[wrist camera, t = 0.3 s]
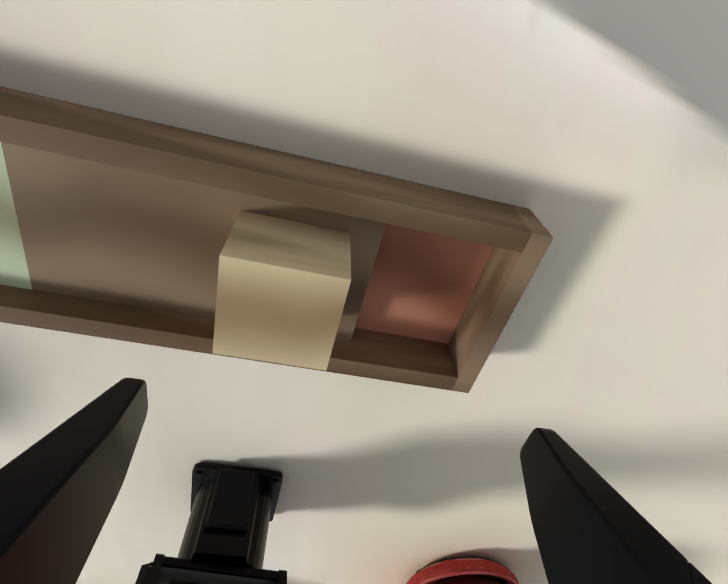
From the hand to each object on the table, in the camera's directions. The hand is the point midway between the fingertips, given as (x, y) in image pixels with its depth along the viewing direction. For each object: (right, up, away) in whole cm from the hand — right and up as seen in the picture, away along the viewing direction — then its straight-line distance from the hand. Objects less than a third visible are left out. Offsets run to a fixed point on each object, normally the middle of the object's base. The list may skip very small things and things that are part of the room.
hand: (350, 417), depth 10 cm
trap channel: (-11, +6, +11) cm, 17 cm away
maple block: (-3, +4, +11) cm, 12 cm away
